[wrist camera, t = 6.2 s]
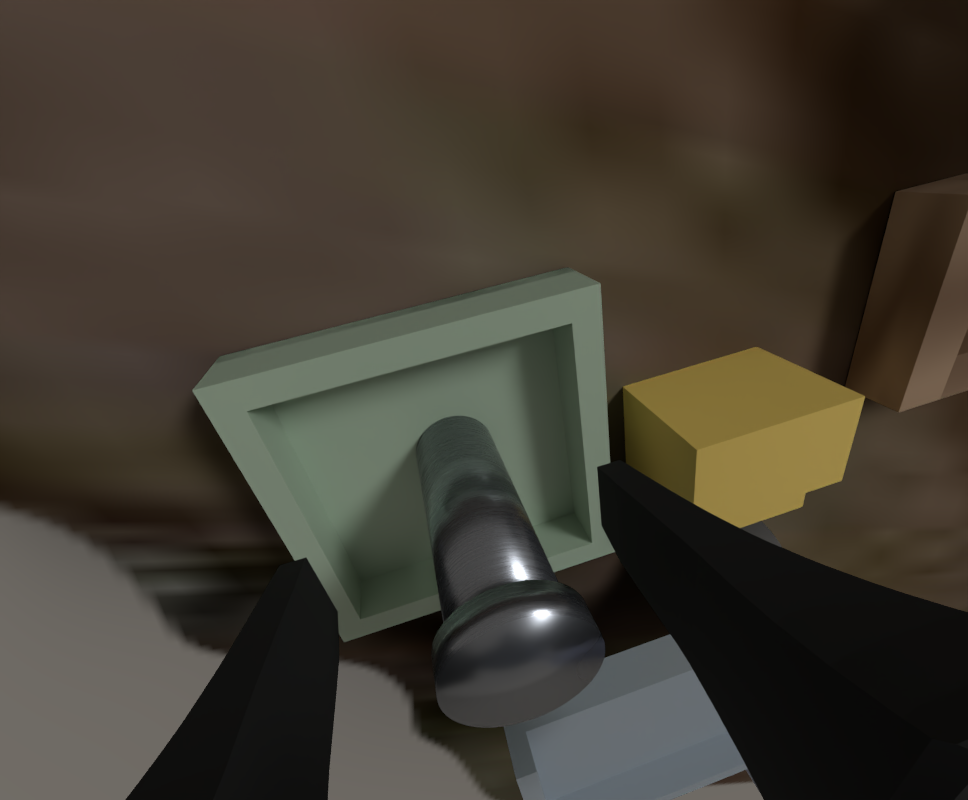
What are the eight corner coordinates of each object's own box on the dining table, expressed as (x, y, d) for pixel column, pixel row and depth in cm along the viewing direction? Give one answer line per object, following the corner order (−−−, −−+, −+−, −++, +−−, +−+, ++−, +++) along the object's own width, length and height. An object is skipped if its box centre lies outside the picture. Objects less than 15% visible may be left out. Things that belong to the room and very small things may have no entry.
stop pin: (508, 473, 14) (608, 691, 8) (419, 499, 14) (457, 746, 8) (493, 395, 13) (601, 592, 7) (393, 422, 13) (416, 655, 7)
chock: (739, 457, 18) (828, 527, 14) (625, 494, 17) (689, 575, 14) (753, 345, 15) (865, 396, 12) (620, 384, 15) (696, 449, 11)
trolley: (717, 611, 22) (827, 750, 17) (490, 693, 21) (531, 871, 16) (734, 481, 18) (889, 613, 13) (449, 574, 17) (486, 765, 11)
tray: (590, 512, 17) (615, 551, 15) (346, 591, 16) (344, 642, 14) (567, 267, 12) (600, 283, 10) (219, 356, 11) (192, 390, 9)
